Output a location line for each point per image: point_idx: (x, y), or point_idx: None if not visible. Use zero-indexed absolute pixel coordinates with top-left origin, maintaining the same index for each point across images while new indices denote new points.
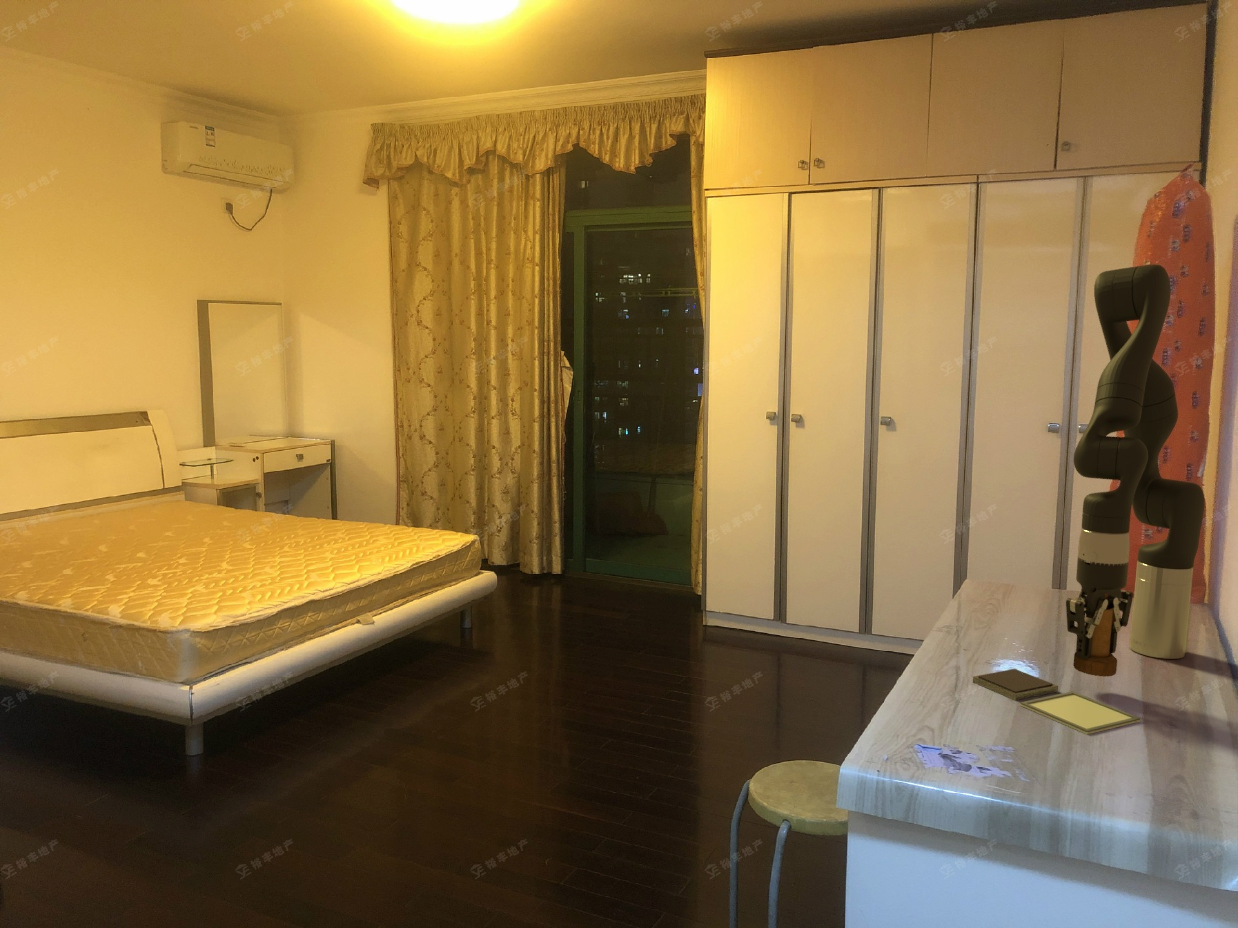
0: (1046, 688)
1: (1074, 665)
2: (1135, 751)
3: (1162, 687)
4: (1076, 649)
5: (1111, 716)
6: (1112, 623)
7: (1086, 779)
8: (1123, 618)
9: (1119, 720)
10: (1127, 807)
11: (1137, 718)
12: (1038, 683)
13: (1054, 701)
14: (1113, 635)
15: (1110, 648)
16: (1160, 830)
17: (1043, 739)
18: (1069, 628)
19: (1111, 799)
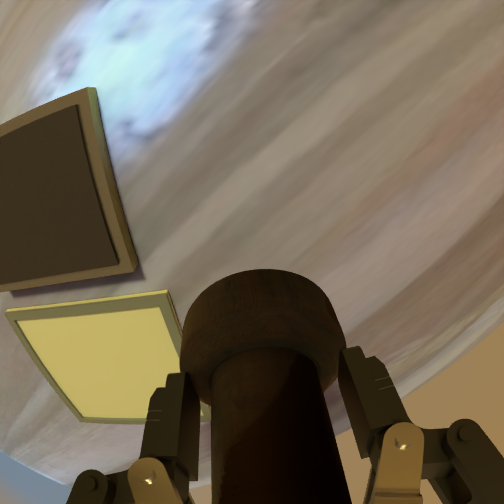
0: (87, 277)
1: (187, 315)
2: (125, 453)
3: (446, 292)
4: (149, 404)
5: None
6: (365, 497)
7: (40, 453)
8: (437, 489)
9: None
10: (59, 475)
11: (206, 420)
12: (75, 251)
13: (81, 324)
14: (358, 445)
15: (342, 390)
16: (70, 487)
17: (16, 402)
18: (80, 491)
19: (50, 468)
